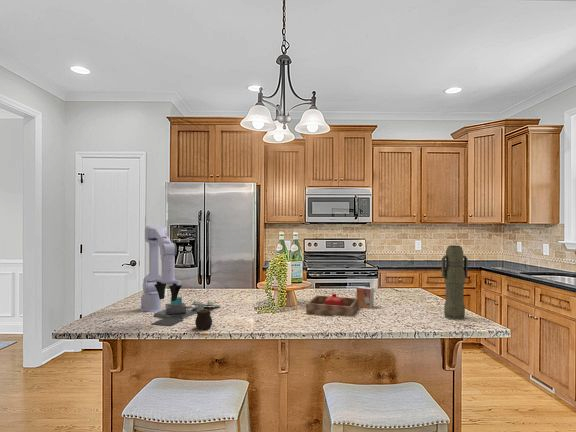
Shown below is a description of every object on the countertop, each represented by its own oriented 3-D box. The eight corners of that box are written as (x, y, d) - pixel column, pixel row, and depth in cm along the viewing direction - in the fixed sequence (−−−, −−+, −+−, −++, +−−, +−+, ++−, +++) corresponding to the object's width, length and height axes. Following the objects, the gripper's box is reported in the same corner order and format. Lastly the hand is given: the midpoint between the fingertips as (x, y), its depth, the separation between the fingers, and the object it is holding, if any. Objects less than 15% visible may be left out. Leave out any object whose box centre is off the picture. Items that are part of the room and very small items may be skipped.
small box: (356, 307, 205) (356, 287, 205) (359, 305, 210) (359, 286, 210) (370, 309, 201) (370, 289, 201) (373, 306, 206) (373, 287, 206)
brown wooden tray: (306, 313, 190) (306, 303, 190) (316, 304, 211) (316, 295, 211) (351, 317, 183) (352, 307, 183) (358, 307, 203) (358, 298, 203)
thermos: (437, 317, 183) (437, 245, 184) (460, 316, 185) (460, 245, 186) (448, 322, 175) (448, 246, 175) (471, 321, 177) (471, 246, 177)
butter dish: (328, 306, 208) (328, 290, 208) (348, 308, 202) (348, 292, 202) (319, 310, 198) (319, 294, 198) (340, 313, 192) (340, 296, 192)
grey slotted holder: (166, 314, 181) (166, 308, 181) (165, 310, 189) (165, 304, 189) (200, 311, 187) (200, 305, 187) (198, 307, 195) (198, 301, 195)
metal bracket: (214, 300, 192) (185, 300, 193) (213, 312, 190) (184, 311, 191) (222, 302, 205) (195, 302, 207) (221, 314, 204) (193, 313, 205)
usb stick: (170, 313, 184) (170, 298, 184) (169, 311, 187) (169, 297, 187) (182, 312, 187) (182, 297, 187) (182, 310, 189) (182, 296, 189)
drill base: (154, 316, 183) (154, 313, 183) (169, 310, 195) (169, 307, 195) (182, 319, 178) (182, 316, 178) (196, 313, 190) (196, 310, 190)
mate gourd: (197, 326, 167) (197, 303, 167) (214, 326, 167) (214, 303, 167) (193, 331, 160) (193, 307, 160) (210, 331, 160) (211, 307, 160)
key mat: (151, 324, 170) (151, 323, 170) (165, 319, 179) (165, 318, 179) (170, 326, 166) (170, 325, 166) (183, 321, 176) (183, 319, 176)
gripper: (186, 269, 173) (186, 299, 173) (163, 267, 180) (163, 296, 180) (175, 271, 167) (174, 302, 167) (151, 269, 174) (151, 299, 173)
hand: (167, 299), depth 173 cm, fingers open, 7 cm apart
